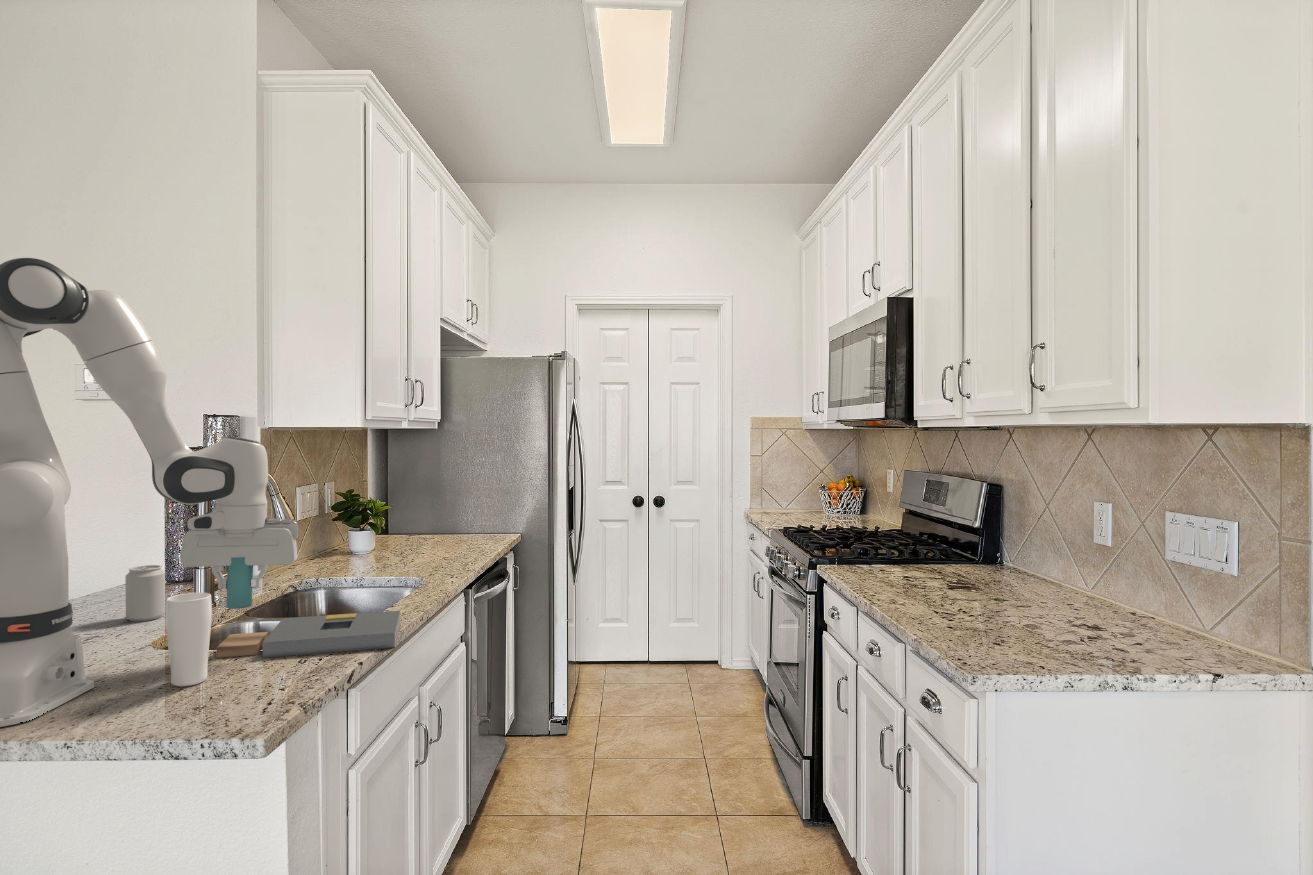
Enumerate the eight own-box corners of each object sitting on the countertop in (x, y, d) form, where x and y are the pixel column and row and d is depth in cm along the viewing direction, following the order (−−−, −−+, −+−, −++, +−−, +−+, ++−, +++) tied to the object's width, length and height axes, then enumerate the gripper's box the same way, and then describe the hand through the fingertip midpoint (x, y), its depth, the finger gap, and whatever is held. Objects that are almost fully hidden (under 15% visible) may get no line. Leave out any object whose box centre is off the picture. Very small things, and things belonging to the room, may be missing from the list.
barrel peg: (248, 608, 141) (250, 557, 141) (223, 609, 139) (224, 558, 139) (254, 603, 145) (255, 554, 145) (230, 604, 144) (231, 554, 144)
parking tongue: (257, 654, 139) (257, 644, 139) (216, 657, 137) (216, 647, 137) (268, 641, 148) (268, 631, 148) (230, 644, 146) (230, 634, 146)
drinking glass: (159, 691, 120) (158, 602, 120) (174, 677, 127) (173, 593, 126) (205, 687, 122) (204, 599, 122) (217, 673, 129) (217, 591, 128)
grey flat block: (394, 647, 144) (394, 631, 144) (262, 657, 137) (262, 640, 137) (400, 623, 161) (400, 609, 161) (283, 632, 155) (283, 616, 155)
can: (144, 623, 161) (144, 570, 161) (117, 621, 163) (116, 569, 162) (173, 614, 168) (172, 564, 168) (146, 613, 170) (146, 563, 170)
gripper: (302, 516, 148) (300, 583, 148) (189, 517, 142) (187, 586, 142) (295, 520, 142) (293, 589, 142) (178, 520, 136) (176, 592, 136)
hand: (239, 587), depth 142 cm, fingers closed on barrel peg, 4 cm apart
